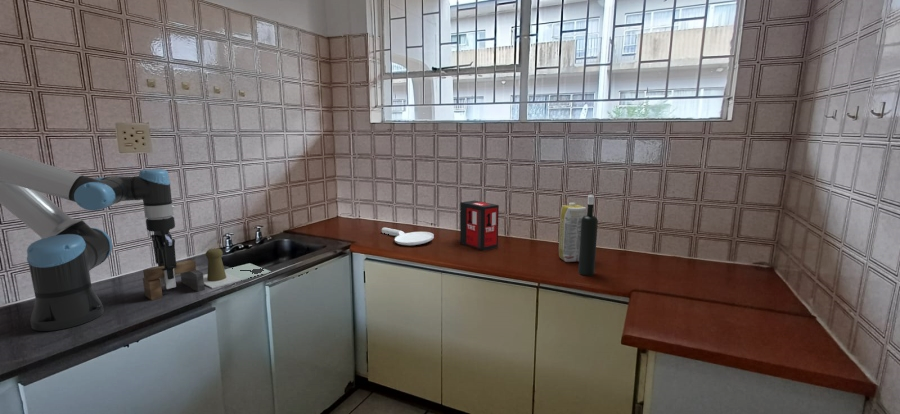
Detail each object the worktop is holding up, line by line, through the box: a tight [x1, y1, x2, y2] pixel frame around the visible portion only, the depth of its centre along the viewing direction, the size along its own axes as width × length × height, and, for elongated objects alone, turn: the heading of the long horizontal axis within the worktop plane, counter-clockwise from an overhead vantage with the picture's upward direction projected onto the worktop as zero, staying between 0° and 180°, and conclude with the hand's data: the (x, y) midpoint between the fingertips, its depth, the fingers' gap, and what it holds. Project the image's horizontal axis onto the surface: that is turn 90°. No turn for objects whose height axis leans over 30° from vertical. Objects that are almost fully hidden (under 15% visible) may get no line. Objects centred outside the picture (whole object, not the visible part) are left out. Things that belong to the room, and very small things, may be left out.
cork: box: [205, 247, 226, 281], centre depth 146 cm, size 6×6×11 cm
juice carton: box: [558, 202, 587, 263], centre depth 169 cm, size 9×8×24 cm
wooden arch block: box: [142, 259, 206, 301], centre depth 136 cm, size 14×14×9 cm
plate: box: [203, 262, 272, 290], centre depth 152 cm, size 21×16×1 cm
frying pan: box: [381, 227, 435, 246], centre depth 204 cm, size 35×19×5 cm, turn 44°
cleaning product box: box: [459, 200, 500, 252], centre depth 191 cm, size 16×9×20 cm, turn 38°
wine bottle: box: [578, 194, 599, 277], centre depth 152 cm, size 6×6×30 cm
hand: (168, 286), depth 135 cm, fingers closed on wooden arch block, 3 cm apart
